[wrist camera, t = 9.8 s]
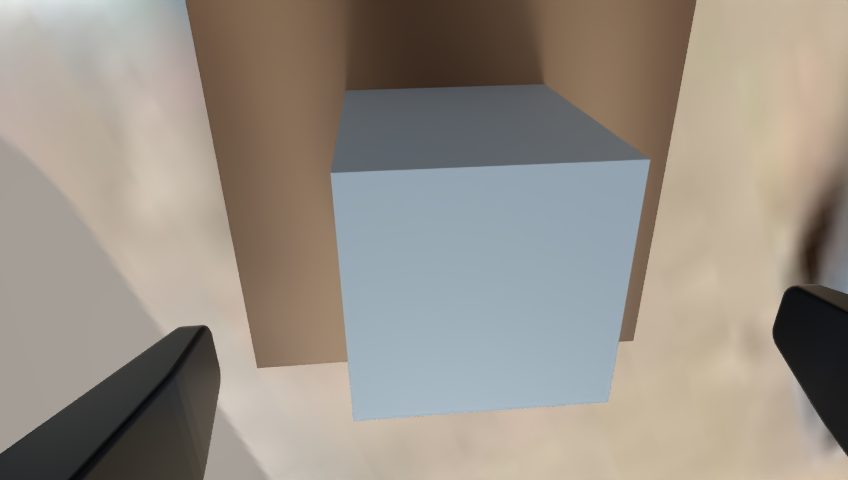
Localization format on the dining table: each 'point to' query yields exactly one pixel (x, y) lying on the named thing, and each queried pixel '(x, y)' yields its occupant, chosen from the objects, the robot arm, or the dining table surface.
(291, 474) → the dining table surface
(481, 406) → the slate block
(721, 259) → the dining table surface
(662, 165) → the walnut slab
